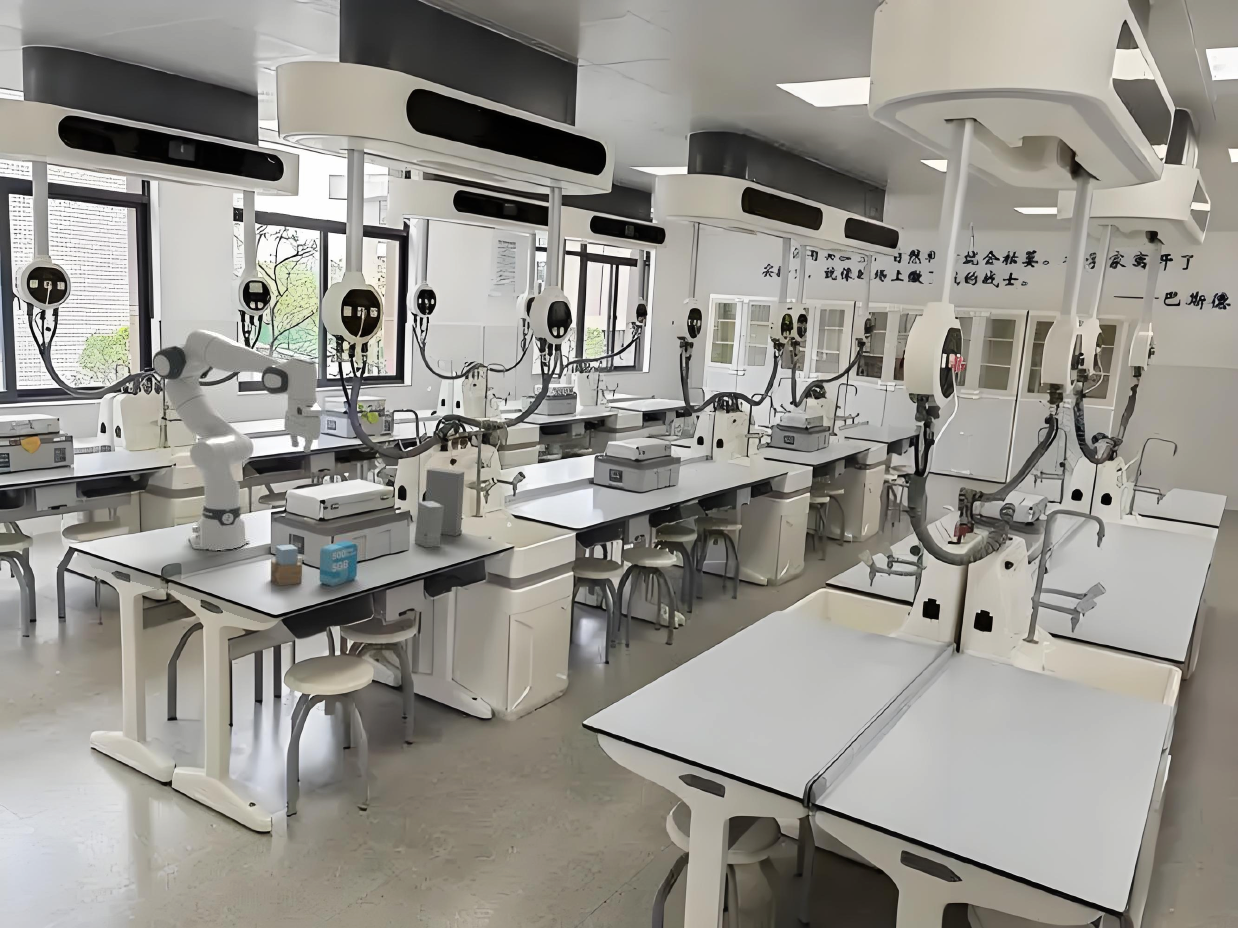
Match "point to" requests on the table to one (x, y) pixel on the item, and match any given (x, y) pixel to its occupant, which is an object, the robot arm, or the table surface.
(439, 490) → the tall grey upright box
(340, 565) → the data package
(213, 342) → the robot arm
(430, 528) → the skincare box
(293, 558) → the slate-blue block
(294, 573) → the cardboard box
